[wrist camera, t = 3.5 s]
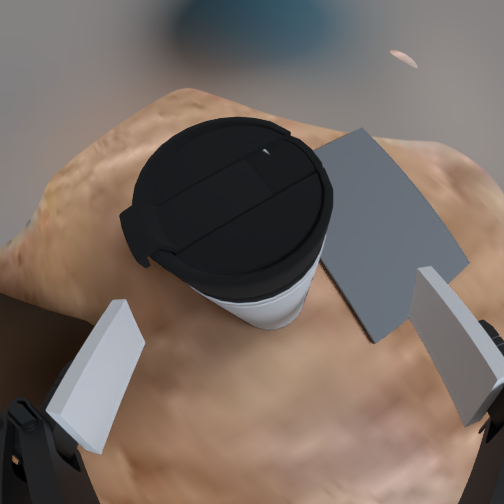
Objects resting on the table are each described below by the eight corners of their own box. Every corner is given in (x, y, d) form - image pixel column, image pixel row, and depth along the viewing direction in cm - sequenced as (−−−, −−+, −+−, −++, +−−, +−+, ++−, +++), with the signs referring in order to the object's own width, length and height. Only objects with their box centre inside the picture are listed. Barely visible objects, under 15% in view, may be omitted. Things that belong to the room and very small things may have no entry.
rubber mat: (263, 179, 31) (263, 176, 30) (361, 130, 31) (362, 127, 31) (373, 343, 24) (375, 343, 24) (467, 264, 25) (469, 262, 24)
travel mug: (221, 288, 27) (97, 170, 9) (280, 251, 28) (260, 77, 9) (255, 345, 25) (167, 340, 7) (317, 305, 26) (386, 200, 7)
